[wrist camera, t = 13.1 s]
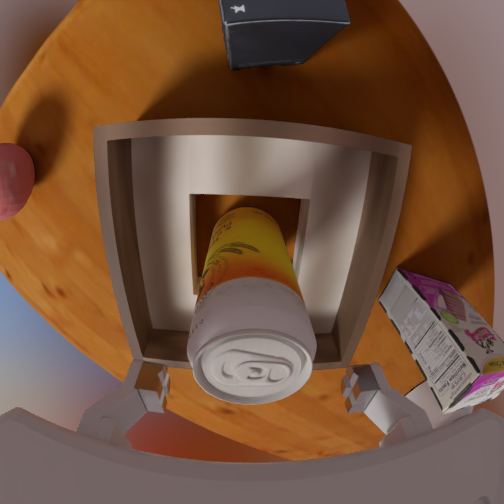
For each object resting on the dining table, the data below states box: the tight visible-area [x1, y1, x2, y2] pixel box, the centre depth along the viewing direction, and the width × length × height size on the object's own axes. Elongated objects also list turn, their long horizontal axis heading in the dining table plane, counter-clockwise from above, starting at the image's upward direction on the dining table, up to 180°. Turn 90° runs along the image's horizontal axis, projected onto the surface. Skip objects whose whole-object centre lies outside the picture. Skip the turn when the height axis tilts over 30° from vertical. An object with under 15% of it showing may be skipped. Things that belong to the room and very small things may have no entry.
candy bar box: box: [378, 268, 504, 414], centre depth 21 cm, size 11×5×16 cm, turn 74°
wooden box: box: [94, 118, 412, 370], centre depth 21 cm, size 20×20×7 cm
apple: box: [0, 143, 35, 220], centre depth 16 cm, size 7×7×8 cm
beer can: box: [187, 207, 317, 404], centre depth 18 cm, size 6×6×15 cm
